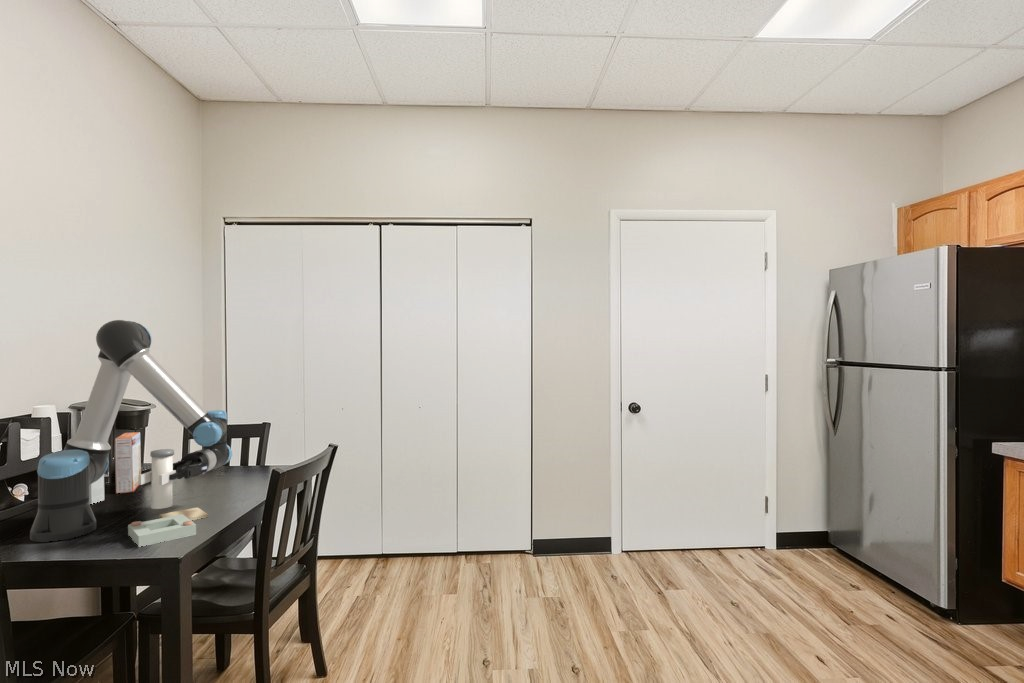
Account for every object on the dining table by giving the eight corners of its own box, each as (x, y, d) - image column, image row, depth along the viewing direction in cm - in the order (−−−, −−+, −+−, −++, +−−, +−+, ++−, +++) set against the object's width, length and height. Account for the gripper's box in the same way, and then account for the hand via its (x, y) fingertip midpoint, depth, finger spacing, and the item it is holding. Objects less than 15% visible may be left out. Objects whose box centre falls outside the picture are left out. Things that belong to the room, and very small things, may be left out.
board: (168, 525, 169) (168, 522, 169) (159, 517, 177) (159, 514, 177) (207, 517, 176) (207, 514, 176) (197, 510, 184) (197, 507, 184)
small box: (104, 500, 197) (104, 471, 197) (91, 505, 191) (91, 474, 191) (84, 500, 198) (84, 470, 198) (70, 504, 192) (70, 474, 192)
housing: (138, 547, 150) (138, 534, 150) (128, 535, 160) (128, 522, 160) (196, 534, 160) (196, 522, 160) (182, 523, 170) (182, 512, 170)
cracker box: (123, 485, 218) (123, 432, 218) (141, 484, 220) (141, 431, 221) (114, 494, 205) (114, 437, 205) (133, 492, 208) (133, 436, 208)
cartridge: (152, 510, 156) (153, 453, 156) (147, 506, 160) (148, 450, 160) (176, 506, 160) (176, 451, 160) (170, 502, 164) (171, 448, 165)
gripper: (225, 474, 178) (182, 493, 155) (169, 474, 178) (117, 493, 155) (226, 451, 178) (182, 466, 155) (169, 451, 178) (118, 466, 155)
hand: (150, 480), depth 155 cm, fingers closed on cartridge, 5 cm apart
